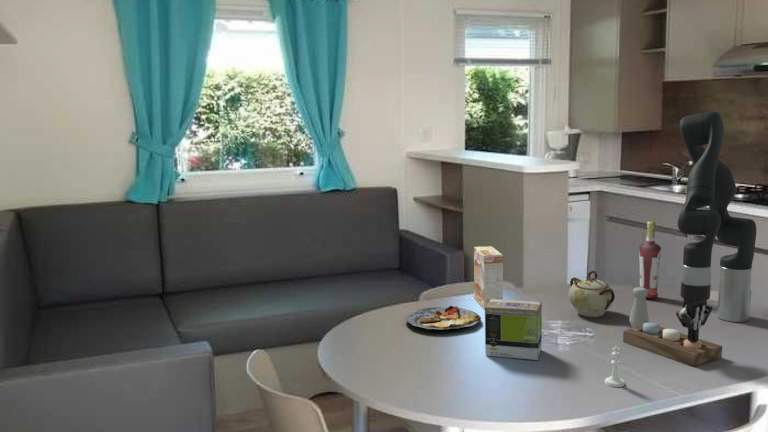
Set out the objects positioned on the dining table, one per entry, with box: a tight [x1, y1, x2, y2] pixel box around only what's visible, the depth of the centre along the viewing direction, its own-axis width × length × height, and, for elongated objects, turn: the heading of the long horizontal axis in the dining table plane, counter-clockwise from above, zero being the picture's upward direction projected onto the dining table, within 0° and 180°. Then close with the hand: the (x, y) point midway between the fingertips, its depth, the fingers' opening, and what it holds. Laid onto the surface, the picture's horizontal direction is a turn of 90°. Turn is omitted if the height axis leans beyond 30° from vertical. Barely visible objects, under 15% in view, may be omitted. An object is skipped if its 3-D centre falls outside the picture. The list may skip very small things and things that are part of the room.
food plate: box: [404, 305, 482, 331], centre depth 231 cm, size 25×23×4 cm
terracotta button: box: [684, 339, 702, 350], centre depth 196 cm, size 5×5×3 cm
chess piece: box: [604, 345, 626, 388], centre depth 179 cm, size 5×5×10 cm
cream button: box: [662, 328, 681, 342], centre depth 201 cm, size 5×5×3 cm
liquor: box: [638, 220, 662, 300], centre depth 252 cm, size 7×7×28 cm
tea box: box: [484, 298, 543, 361], centre depth 201 cm, size 15×10×15 cm, turn 71°
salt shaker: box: [628, 286, 650, 328], centre depth 220 cm, size 6×6×13 cm
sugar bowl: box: [567, 270, 616, 318], centre depth 236 cm, size 20×15×15 cm
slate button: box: [643, 322, 661, 336], centre depth 207 cm, size 5×5×3 cm
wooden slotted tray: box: [622, 326, 723, 368], centre depth 202 cm, size 12×24×4 cm, turn 30°
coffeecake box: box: [473, 245, 504, 311], centre depth 250 cm, size 15×7×20 cm, turn 6°
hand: (692, 341), depth 195 cm, fingers closed
